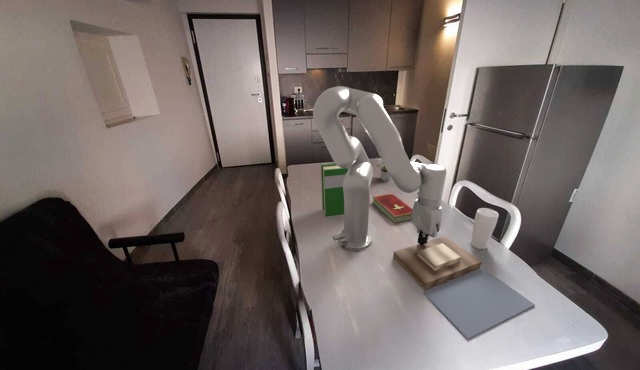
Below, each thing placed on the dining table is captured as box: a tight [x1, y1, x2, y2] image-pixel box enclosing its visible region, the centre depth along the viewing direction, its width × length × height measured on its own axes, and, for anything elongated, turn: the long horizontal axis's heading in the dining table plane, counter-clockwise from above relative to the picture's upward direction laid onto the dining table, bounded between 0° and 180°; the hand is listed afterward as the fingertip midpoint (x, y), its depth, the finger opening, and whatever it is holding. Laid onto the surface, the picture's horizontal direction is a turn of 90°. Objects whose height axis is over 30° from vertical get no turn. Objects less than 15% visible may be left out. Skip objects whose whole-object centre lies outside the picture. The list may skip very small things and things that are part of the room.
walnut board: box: [392, 235, 483, 291], centre depth 88 cm, size 24×16×3 cm, turn 111°
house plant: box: [376, 156, 391, 182], centre depth 155 cm, size 14×14×16 cm
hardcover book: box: [372, 192, 413, 223], centre depth 122 cm, size 12×21×4 cm, turn 17°
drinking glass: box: [470, 207, 500, 250], centre depth 93 cm, size 7×7×15 cm
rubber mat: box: [422, 267, 535, 340], centre depth 74 cm, size 26×16×1 cm, turn 111°
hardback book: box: [320, 163, 348, 218], centre depth 119 cm, size 18×7×24 cm, turn 101°
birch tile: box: [418, 243, 461, 271], centre depth 86 cm, size 11×8×2 cm
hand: (422, 243), depth 93 cm, fingers closed
